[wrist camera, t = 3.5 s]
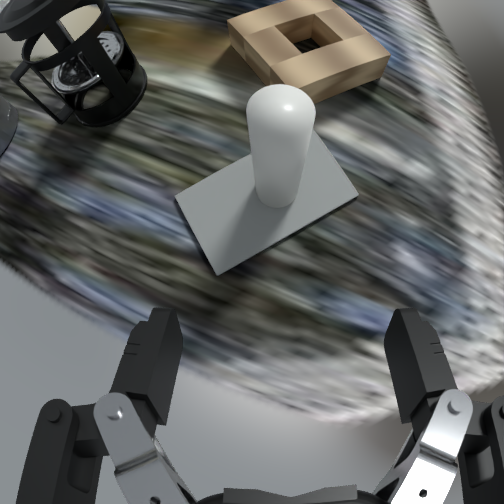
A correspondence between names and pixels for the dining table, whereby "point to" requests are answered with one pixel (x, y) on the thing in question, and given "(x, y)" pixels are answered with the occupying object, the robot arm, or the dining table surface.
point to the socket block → (313, 62)
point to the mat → (259, 207)
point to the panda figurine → (3, 4)
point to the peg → (279, 141)
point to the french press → (76, 59)
